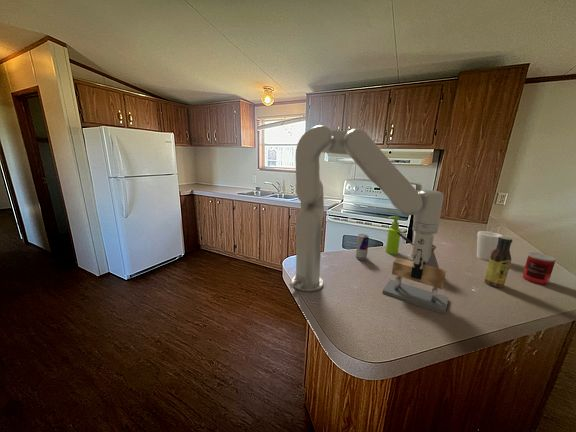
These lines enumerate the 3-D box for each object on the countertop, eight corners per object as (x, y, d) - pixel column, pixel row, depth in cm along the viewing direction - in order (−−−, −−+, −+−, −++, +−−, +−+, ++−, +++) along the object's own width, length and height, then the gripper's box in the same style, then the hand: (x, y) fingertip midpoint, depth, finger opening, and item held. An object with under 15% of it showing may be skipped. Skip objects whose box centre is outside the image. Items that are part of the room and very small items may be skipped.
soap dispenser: (382, 250, 128) (386, 215, 124) (394, 250, 129) (398, 215, 124) (387, 254, 123) (391, 218, 118) (399, 254, 123) (404, 218, 118)
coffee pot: (443, 274, 102) (449, 242, 99) (429, 281, 97) (435, 247, 93) (399, 257, 120) (403, 229, 116) (384, 262, 114) (388, 233, 110)
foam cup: (498, 263, 114) (504, 238, 111) (474, 259, 118) (480, 234, 115) (493, 256, 122) (499, 232, 119) (471, 252, 126) (476, 230, 123)
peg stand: (445, 314, 76) (448, 298, 75) (382, 292, 88) (384, 278, 87) (447, 299, 84) (450, 285, 83) (389, 282, 96) (391, 268, 94)
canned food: (540, 277, 101) (547, 253, 98) (553, 286, 93) (561, 261, 91) (517, 274, 103) (524, 251, 100) (529, 283, 96) (536, 258, 93)
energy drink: (367, 260, 116) (369, 237, 113) (356, 259, 117) (358, 236, 114) (366, 256, 121) (368, 234, 118) (355, 255, 122) (357, 233, 119)
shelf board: (391, 274, 87) (393, 261, 86) (395, 269, 91) (397, 257, 90) (442, 289, 78) (444, 275, 76) (443, 283, 81) (446, 270, 80)
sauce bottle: (499, 289, 91) (511, 242, 86) (480, 282, 96) (491, 236, 91) (507, 285, 94) (519, 239, 89) (488, 278, 99) (499, 234, 94)
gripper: (434, 235, 71) (425, 288, 75) (440, 223, 84) (432, 269, 88) (407, 230, 75) (400, 281, 80) (417, 219, 88) (410, 263, 93)
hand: (417, 274), depth 84 cm, fingers closed on shelf board, 5 cm apart
